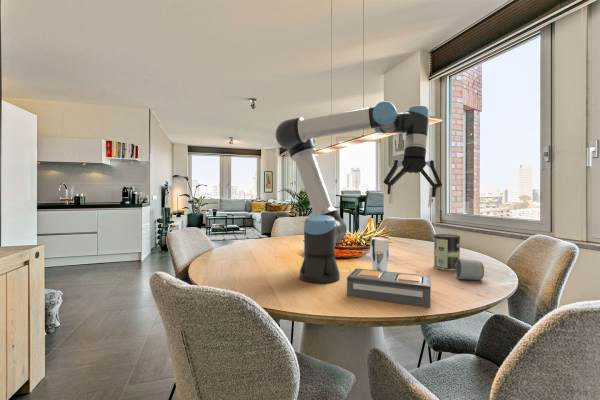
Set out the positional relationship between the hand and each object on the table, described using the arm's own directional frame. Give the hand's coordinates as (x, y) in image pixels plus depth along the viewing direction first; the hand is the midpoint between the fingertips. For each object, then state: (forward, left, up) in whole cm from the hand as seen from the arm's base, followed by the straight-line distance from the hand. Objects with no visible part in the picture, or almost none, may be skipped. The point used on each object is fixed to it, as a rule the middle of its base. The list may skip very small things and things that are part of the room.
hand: (409, 204), depth 112 cm
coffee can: (+13, +28, -28) cm, 42 cm away
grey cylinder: (+20, +13, -28) cm, 37 cm away
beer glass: (-11, 0, -28) cm, 30 cm away
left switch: (-11, -19, -25) cm, 33 cm away
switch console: (-5, -19, -28) cm, 34 cm away
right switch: (+1, -19, -25) cm, 32 cm away
